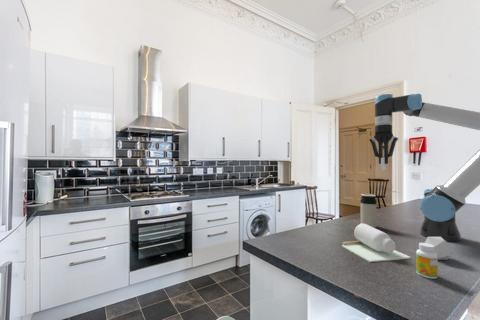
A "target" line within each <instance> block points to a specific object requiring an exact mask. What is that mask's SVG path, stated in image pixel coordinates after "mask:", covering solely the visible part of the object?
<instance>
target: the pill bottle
mask: <svg viewBox="0 0 480 320" xmlns="http://www.w3.org/2000/svg"><path fill="white" fill-rule="evenodd" d="M353 235H354V237H355V239H356V241H360V242H362V243H364V244H366V245H367V246H369V247H371V248H373V249H374V250H376V251H378V252H386V253H392V252H393V251H394V250H396V246H397V245H396V242H395V241H394V240H393V239H391V236H390V235H389V234H387V233H385V232H384V231H381V230H380V229H377V228H376V227H375V228H373V227H371V226H369V225H367V224H363V223H362V224H361V223H359V224H358V225H356V227H355V228H354V232H353Z"/></svg>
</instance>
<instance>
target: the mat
mask: <svg viewBox="0 0 480 320" xmlns="http://www.w3.org/2000/svg"><path fill="white" fill-rule="evenodd" d="M341 247H342V248H343V249H345V250H347V251H349V252H351V253H352V254H355V255H356V256H357V257H359V258H362V259H363V260H364V261H367V262H368V263H374V262H376V263H377V262H388V261H389V262H390V261H398V260H400V261H401V260H411V259H412V257H411V256H410V255H407V254H405V253H403V252H400V251H397V250H396V249H395V250H394V251H393V252H392V253H386V252H378V251H376V250H374V249H373V248H371V247H369V246H367V245H366V244H352V245H342V244H341Z"/></svg>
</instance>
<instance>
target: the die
mask: <svg viewBox="0 0 480 320" xmlns="http://www.w3.org/2000/svg"><path fill="white" fill-rule="evenodd" d="M424 243H428V244H432V245H434V246H435V251H434V252H435V253H436V254H437V255H438V261H447V260H448V261H449V259H450V257H451V255H452V253H453V251H454V250H455V248H454V246H452V245H451V244H450V243H449V241H445V240H444V239H443V238H442V237H426V239H425V241H424Z"/></svg>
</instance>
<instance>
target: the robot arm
mask: <svg viewBox="0 0 480 320" xmlns="http://www.w3.org/2000/svg"><path fill="white" fill-rule="evenodd" d="M401 112H403V114H404V115H405V116H409V117H416V118H422V119H425V120H431V121H435V122H441V123H445V124H450V125H453V126H458V127H463V128H467V129H470V130H471V129H472V130H476V131H480V111H474V110H467V109H465V108H463V109H462V108H457V107H452V106H451V107H450V106H445V105H440V104H434V103H428V102H425V101H423V97H422V94H421V93H411V94H408V95H406V94H405V95H401V96H395V97H394V96H393V95H392V94H391V93H384V94H380V95H377V96H375V100H374V125H375V126H374V136H373V137H372V138H369V143H370V144H371V146H372V151H373V155H374V157H376V158H378V164H380V171H387V165H388V164H389V158H391V157H393V155H394V150H395V148H396V147H395V146H396V145H397V144H396V143H397V142H398V141H399V137H397V136H394V134H393V125H392V123H393V113H401ZM390 141H391V143H389V142H390ZM376 142H377V143H376ZM377 144H378V148H377ZM389 144H390V147H389ZM479 186H480V149H479V150H478V151H476V152H475V153H474V154H473V155H472V157H470V158H469V159H468V160H467V161H466V162H465V163H464V164H463V165H462V166H461V167H459V169H458V170H457V171H456V172H455V173H453V175H452V176H450V178H449V179H448V180H447V181H445V182H444V183H443V184H441V185H436V186H435V187H434V188H427V189H424V191H423V196H424V197H423V198H421V200H420V202H419V209H420V211H421V213H422V214H423V215H424V216H423V222H422V223H421V226H420V228H419V234H420V235H422V236H424V237H426V238H427V237H442V238H443V239H444V240H445V241H446V242H460V241H462V239H461V237H462V236H461V235H462V234H461V233H460V231H459V228H458V226H457V224H456V223H457V221H456V213H457V212H458V211H459V210H460V209H461V208H463V207H464V205H466V198H467V197H468V196H469V195H470V194H471V193H472V192H473V191H475V190H476V189H477V188H478V187H479Z"/></svg>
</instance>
